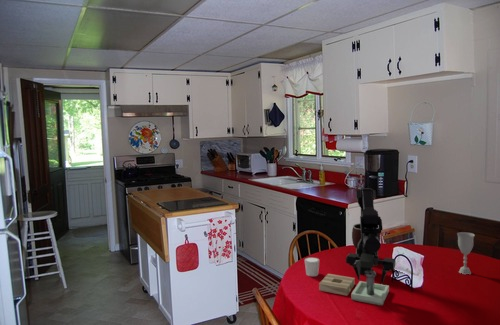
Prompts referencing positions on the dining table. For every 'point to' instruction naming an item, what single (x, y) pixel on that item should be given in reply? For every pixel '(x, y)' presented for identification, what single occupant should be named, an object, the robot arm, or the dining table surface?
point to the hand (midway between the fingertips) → (370, 281)
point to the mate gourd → (358, 234)
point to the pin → (370, 281)
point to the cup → (312, 266)
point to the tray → (377, 298)
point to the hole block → (337, 284)
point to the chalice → (465, 248)
